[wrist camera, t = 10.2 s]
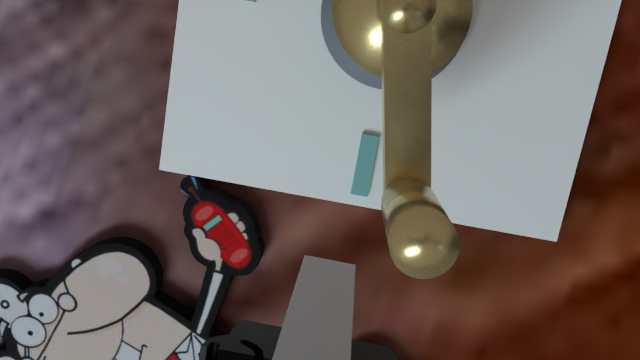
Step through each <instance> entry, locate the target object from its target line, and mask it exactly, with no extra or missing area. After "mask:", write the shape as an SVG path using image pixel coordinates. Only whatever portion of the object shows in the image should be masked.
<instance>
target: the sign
mask: <svg viewBox="0 0 640 360" xmlns="http://www.w3.org/2000/svg"><path fill="white" fill-rule="evenodd" d="M180 188H181V191H182V193H183V194H184V195H185V196H187V197H188V200H187V201H186V203H185V205H184V209H183V216H184V220H185V223H186V224H185V227H184V233H185V235H186V237H187V238H188V240H189V245H190V250H191V252H192V255H193V256H194V258H195V259H196V260H197V261H198V262H200V263H201V264H203V265H205V266H207V270H206V273H205V277H204V280H203V285H202V288H201V292H200V295H199V298H198V302H197V305H196V309H195V312H193V311H191V310H190V309H189V308H187V307H186V306H184V305H183V304H181V303H180V302H178V301H177V300H176V299H174V298H172V297H171V296H169V295H168V294H166V293H164V292H162V291H161V290H160V287H161V285H162V280H163V270H162V266H161V263H160V261H159V259H158V257H157V255H156V254H155V253H154V252H153V251H152V250H151V249H150V248H149V247H148V246H147V245H145V244H144V243H142V242H141V241H138V240H135V239H132V238H127V237H117V238H115V237H114V238H111V239H105V240H103V241H101V242H99V243H96V244H95V245H93V246H91V247H90V248H88V249H86V250H84V251H83V252H81V253H80V254H79V255H78V256H76V257H75V258H73V259H72V260H71V261H69V262H68V263H67V264H66V265H65V266H64V267H62V268H61V269H60V270H59V272H58V273H57V274H56V275H54V276H53V277H52V278H51V279H44V280H39V281H37V282H36V283H33V282H32V281H31V280H30V279H29V278H28V277H26V276H25V275H23V274H22V273H20V272H18V271H15V270H11V269H1V270H0V334H1V335H2V338H3V340H4V341H5V343H3V344H1V345H0V360H199V354H200V347H201V345H202V344H203V343H204V342H205V341H206V340H207V339H210V338H213V337H215V336H221V335H226V334H224V333H222V332H221V331H219V330H218V329H216V328H215V327H214V326H213V324H214V322H215V319H216V317H217V314H218V312H219V310H220V307H221V305H222V302H223V300H224V298H225V295H226V293H227V291H228V289H229V285H230V283H231V280H232V277H233V275H238V276H240V275H247V274H249V273H251V272H252V271H253V270H254V269H255V268H256V267H257V266H258V264H259V262H260V260H261V257H262V255H263V250H264V245H263V240H262V237H261V235H260V232H261V229H260V227H259V225H258V223H257V215H256V214H255V212H254V211H253V210H252V209H251V207H250V206H249V204H248V203H247V202H246V201H245V200H243V199H241V198H234V197H232V196H231V195H230V194H229V193H227V192H226V191H224V190H222V189H220V188H216V187H211V186H209V185H208V183H207V182H206V179H205V178H202V177H197V176H191V175H188V176H187V177H185V178H184V179H183V180H182V181H181V184H180Z"/></svg>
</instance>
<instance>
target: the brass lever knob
mask: <svg viewBox="0 0 640 360" xmlns="http://www.w3.org/2000/svg"><path fill="white" fill-rule="evenodd" d="M472 13H473V0H333V1H332V16H333V23H334V28H335V31H336V34H337V37H338V39H339V41H340V43H341V45H342V47H343V48H344V50H345V51H346V53H347V54H348V55H349V56H350V57H351V58H352V60H353V61H354V62H356V63H357V64H358V65H359V66H360V67H362V68H363V69H365V70H367V71H368V72H370V73H373V74H375V75H377V76H381V77H382V139H383V195H382V199H381V209H382V214H383V219H384V225H385V230H386V235H387V240H388V245H389V251H390V255H391V258H392V260H393V262H394V264H395V265H396V266H397V268H398V269H399V270H401V271H402V272H403V273H405V274H406V275H408V276H411V277H414V278H418V279H430V278H434V277H437V276H439V275H441V274H443V273H445V272H446V271H447V270H448V269H450V267H451V266H452V265H453V264H454V262H455V261H456V259H457V256H458V253H459V247H460V243H459V237H458V234H457V231H456V229H455V228H454V226H453V224H452V223H451V221H450V219H449V218H448V216H447V214H446V212H445V211H444V209H443V207H442V206H441V204H440V202H439V201H438V199H437V197H436V196H435V194H434V192H433V191H432V189H431V103H432V72H433V71H434V70H436V69H438V68H439V67H441V66H442V65H444V64H445V63H446V62H447V61H448V60H449V59H451V58H452V56H453V55H454V54H455V53H456V52H457V51H458V49H459V48H460V46H461V45H462V43H463V41H464V39H465V37H466V35H467V33H468V30H469V27H470V24H471V19H472Z"/></svg>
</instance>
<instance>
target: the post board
mask: <svg viewBox="0 0 640 360" xmlns="http://www.w3.org/2000/svg"><path fill="white" fill-rule="evenodd" d="M332 1H333V0H179V7H178V15H177V23H176V32H175V40H174V49H173V57H172V66H171V74H170V83H169V91H168V100H167V108H166V116H165V125H164V133H163V142H162V150H161V159H160V167H159V170H164V171H169V172H175V173H180V174H186V175H191V176H197V177H202V178H208V179H213V180H219V181H224V182H230V183H235V184H241V185H246V186H252V187H257V188H263V189H268V190H274V191H279V192H285V193H290V194H296V195H301V196H307V197H313V198H318V199H324V200H329V201H335V202H340V203H346V204H351V205H357V206H362V207H368V208H373V209H379V210H382V209H381V199H382V195H383V139H382V77H381V76H377V75H375V74H373V73H370V72H368V71H367V70H365V69H363V68H362V67H360V66H359V65H358V64H357V63H356V62H354V61H353V60H352V58H351V57H350V56H349V55H348V54H347V53H346V51H345V50H344V48H343V47H342V45H341V43H340V41H339V39H338V37H337V34H336V31H335V28H334V23H333V16H332ZM621 1H622V0H473V13H472V19H471V24H470V27H469V30H468V33H467V35H466V37H465V39H464V41H463V43H462V45H461V46H460V48H459V49H458V51H457V52H456V53H455V54H454V55H453V56H452V58H451V59H449V60H448V61H447V62H446V63H445V64H444V65H442V66H441V67H439V68H438V69H436V70H434V71H433V72H432V103H431V189H432V191H433V192H434V194H435V196H436V197H437V199H438V201H439V202H440V204H441V206H442V207H443V209H444V211H445V212H446V214H447V216H448V218H449V219H450V221H451V223H456V224H461V225H467V226H472V227H478V228H484V229H489V230H495V231H500V232H506V233H511V234H517V235H522V236H528V237H533V238H539V239H544V240H550V241H555V242H557V238H558V234H559V231H560V227H561V223H562V220H563V216H564V212H565V208H566V205H567V201H568V197H569V194H570V190H571V186H572V183H573V179H574V175H575V171H576V168H577V164H578V160H579V157H580V153H581V149H582V145H583V142H584V138H585V134H586V131H587V127H588V123H589V119H590V116H591V112H592V108H593V105H594V101H595V97H596V93H597V90H598V86H599V82H600V79H601V75H602V71H603V67H604V64H605V60H606V56H607V53H608V49H609V45H610V42H611V38H612V34H613V30H614V27H615V23H616V19H617V16H618V12H619V8H620V4H621Z"/></svg>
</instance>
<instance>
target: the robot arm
mask: <svg viewBox="0 0 640 360" xmlns="http://www.w3.org/2000/svg"><path fill="white" fill-rule="evenodd" d="M354 282H355V265H353V264H348V263H343V262H338V261H333V260H327V259H322V258H317V257H312V256H306V255H305V256H304V259H303V262H302V265H301V268H300V272H299V275H298V278H297V281H296V284H295V288H294V291H293V294H292V297H291V300H290V304H289V307H288V310H287V313H286V316H285V320H284V323H283V326H282V327H278V326H273V325H268V324H263V323H258V322H253V321H248V320H245V321H243V322H242V323H240V324H238V325H237V326H235V327H233V328H232V330H231V332H230V334H229V335H221V336H215V337H213V338H210V339H207V340H206V341H205V342H204V343H203V344H202V345H201V347H200V354H199V360H398V358H397V357H396V355H395V354H394V353H393V352H392V350H391V349H390V348H389V347H388V346H383V345H378V344H373V343H368V342H363V341H358V340H353V339H352V322H353V302H354Z"/></svg>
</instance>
